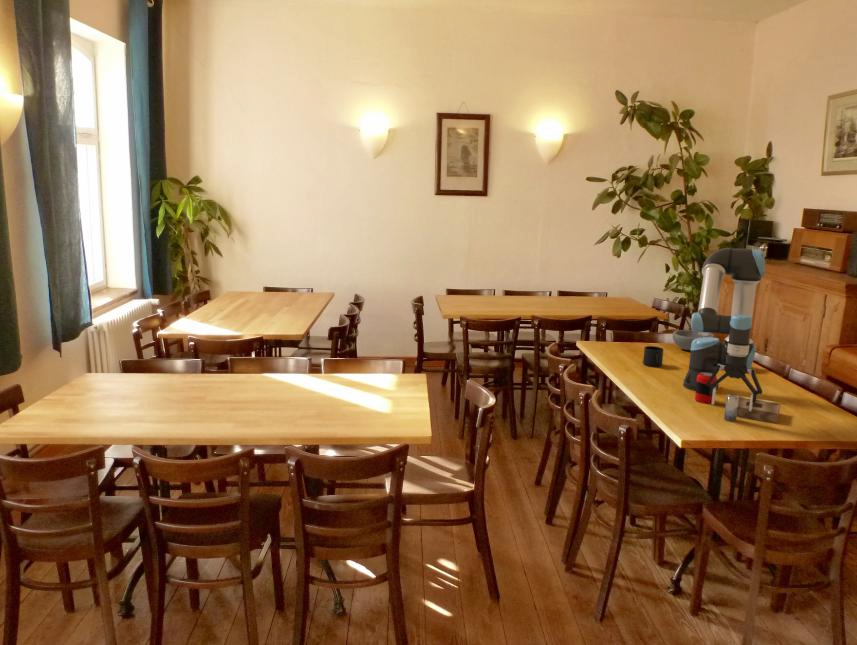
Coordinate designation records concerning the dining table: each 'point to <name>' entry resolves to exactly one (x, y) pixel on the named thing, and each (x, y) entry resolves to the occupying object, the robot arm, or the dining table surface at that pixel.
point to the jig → (758, 409)
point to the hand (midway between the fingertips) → (731, 407)
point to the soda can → (703, 388)
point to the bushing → (731, 407)
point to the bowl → (688, 337)
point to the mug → (653, 356)
